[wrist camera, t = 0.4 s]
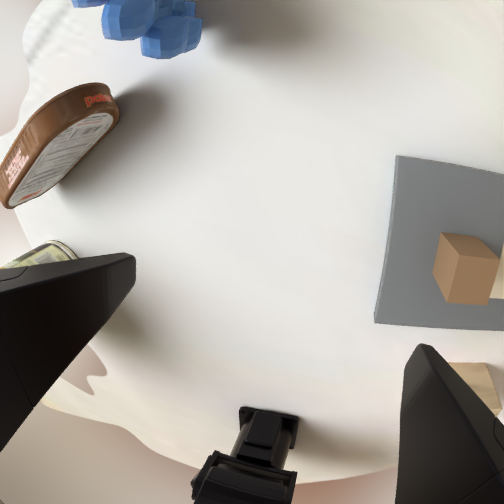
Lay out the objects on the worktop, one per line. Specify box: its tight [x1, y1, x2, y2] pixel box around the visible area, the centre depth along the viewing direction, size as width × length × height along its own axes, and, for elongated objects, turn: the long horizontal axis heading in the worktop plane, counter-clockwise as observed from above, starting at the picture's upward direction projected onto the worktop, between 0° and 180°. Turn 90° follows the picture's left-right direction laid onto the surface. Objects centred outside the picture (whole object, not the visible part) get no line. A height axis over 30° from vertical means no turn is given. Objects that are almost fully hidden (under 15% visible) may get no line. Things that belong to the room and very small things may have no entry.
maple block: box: [447, 362, 502, 417], centre depth 20 cm, size 5×5×6 cm
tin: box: [0, 83, 120, 209], centre depth 21 cm, size 15×3×8 cm, turn 119°
